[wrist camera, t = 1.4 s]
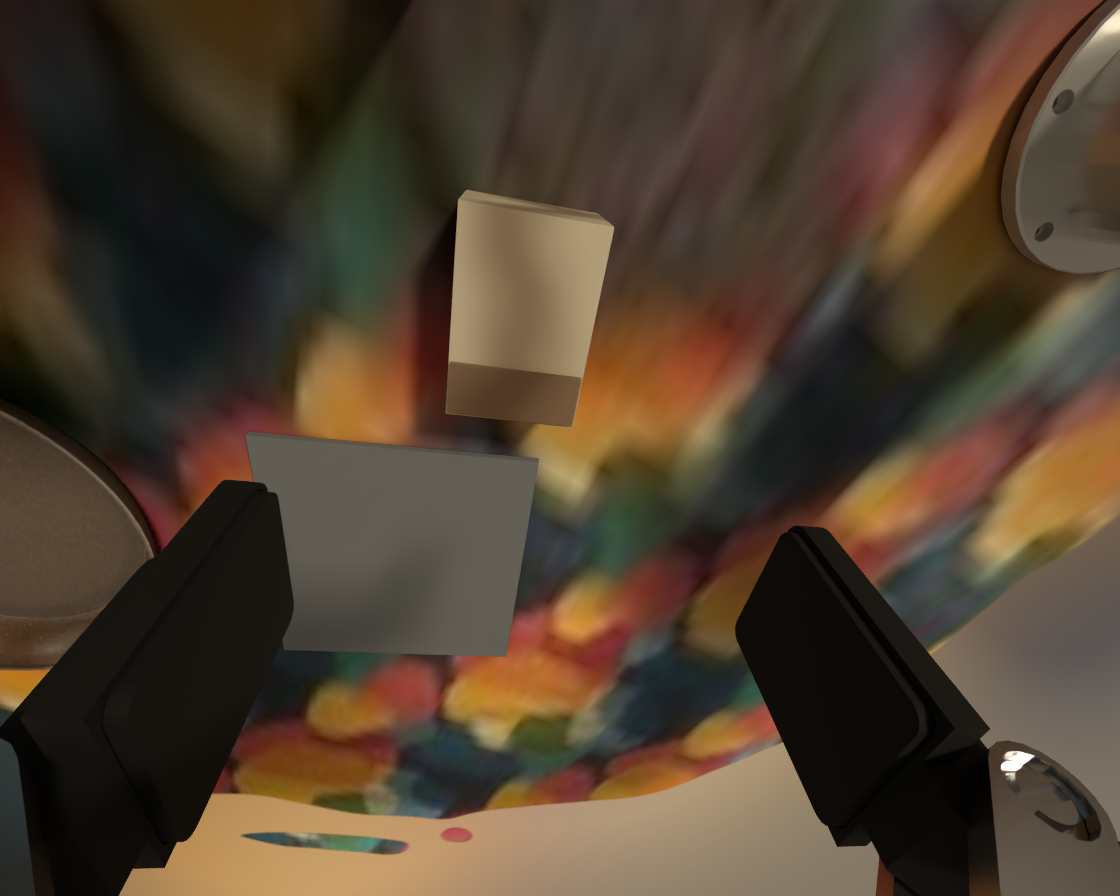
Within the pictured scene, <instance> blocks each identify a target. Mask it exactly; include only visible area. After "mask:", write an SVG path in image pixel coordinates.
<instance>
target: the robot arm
mask: <svg viewBox="0 0 1120 896" xmlns="http://www.w3.org/2000/svg"><path fill="white" fill-rule="evenodd" d="M1001 203H1002V213H1003V221H1004V223H1005V226H1006V229H1007V232H1008V234H1009V237H1010V239H1011V241H1012V242H1013V243H1014V245H1015V246H1016V247H1017V249H1018V250H1019V251H1020V253H1021V254H1023V255H1024V256H1025V257H1027V258H1028V259H1030V260H1031V261H1033V262H1034V263H1035V264H1038V265H1041V266H1044V267H1047V268H1051V269H1054V270H1059V271H1064V272H1070V273H1075V274H1088V273H1102V272H1106V271H1110V270H1114V269H1119V268H1120V0H1107V1H1106V2H1105V3H1104V4H1103V5H1102V6H1101V7H1100V8H1098V9H1097V10H1096V11H1095V12H1094V13H1093V14H1092V15H1091V16H1090V18H1089V19H1088V20H1087V21H1086V22H1085V23H1084V24H1083V25H1082V26H1081V27H1080V29H1079V30H1078V31H1077V32H1076V33H1075V34H1074V35H1073V36H1072V37H1071V38H1070V40H1069V41H1068V42H1067V43H1066V44H1065V46H1064V47H1063V49H1062V50H1061V51H1060V53H1059V54H1058V55H1057V57H1056V58H1055V60H1054V61H1053V62H1052V64H1051V65H1050V66H1049V68H1048V69H1047V71H1046V72H1045V73H1044V75H1043V76H1042V78H1041V80H1040V82H1039V84H1038V85H1037V87H1036V89H1035V91H1034V92H1033V94H1032V96H1031V98H1030V99H1029V101H1028V103H1027V105H1026V106H1025V108H1024V111H1023V113H1022V115H1021V118H1020V120H1019V123H1018V125H1017V127H1016V130H1015V132H1014V135H1013V137H1012V139H1011V143H1010V147H1009V150H1008V154H1007V158H1006V162H1005V166H1004V169H1003V179H1002V189H1001ZM293 610H294V599H293V592H292V585H291V579H290V572H289V565H288V559H287V552H286V545H285V538H284V532H283V525H282V518H281V512H280V505H279V499H278V495H277V494H276V493H275V492H268V489H267V487H266V485H265V484H264V483H261V482H248V481H236V480H224V481H222V482H221V483H220V484H219V485H218V486H217V487H216V488H215V489H214V491H213V492H212V493H211V494H210V495H209V496H208V498H207V499H206V500H205V501H204V502H203V503H202V505H201V506H200V507H199V508H198V509H197V511H196V512H195V513H194V514H193V515H192V516H191V518H190V519H189V520H188V521H187V522H186V523H185V525H184V526H183V527H182V528H181V529H180V531H179V532H178V533H177V534H176V535H175V536H174V538H173V539H172V540H171V541H170V542H169V543H168V545H167V546H166V547H165V548H164V549H163V550H162V552H161V553H160V554H159V555H158V556H157V557H154V558H152V559H150V560H147V561H146V562H145V563H144V564H143V565H142V566H141V567H140V568H139V569H138V570H137V571H136V572H135V573H134V574H133V576H132V577H131V578H130V579H129V580H128V581H127V582H126V584H125V585H124V586H123V587H122V588H121V589H120V591H119V592H118V593H117V594H116V595H115V596H114V597H113V599H112V600H111V601H110V602H109V603H108V604H107V605H106V607H105V608H104V609H103V610H102V611H101V612H100V613H99V615H98V616H97V617H96V618H95V619H94V620H93V622H92V623H91V624H90V625H89V626H88V627H87V628H86V630H85V631H84V632H83V633H82V634H81V635H80V636H79V638H78V639H77V640H76V641H75V642H74V643H73V644H72V646H71V647H70V648H69V649H68V650H67V651H66V653H65V654H64V655H63V656H62V657H61V658H60V659H59V661H58V662H57V663H56V664H55V665H54V666H53V667H52V669H51V670H50V671H49V672H48V673H47V674H46V675H45V677H44V678H43V679H42V680H41V681H40V682H39V684H38V685H37V686H36V687H35V688H34V689H33V690H32V692H31V693H30V694H29V695H28V696H27V697H26V698H25V700H24V701H23V702H22V703H21V704H20V705H19V706H18V708H17V709H16V710H15V711H14V712H13V713H12V715H11V716H10V717H9V718H8V719H7V720H6V721H5V723H4V724H3V725H2V726H1V727H0V896H119V894H120V892H121V890H122V888H123V886H124V884H125V882H126V880H127V879H128V877H129V875H130V873H131V871H132V869H137V868H138V869H140V868H165V866H166V864H167V862H168V859H169V857H170V855H171V853H172V851H173V849H174V847H175V845H176V843H177V842H184V841H186V840H187V839H189V837H190V836H191V835H192V834H193V832H194V831H195V829H196V827H197V825H198V823H199V821H200V819H201V816H202V814H203V812H204V810H205V807H206V805H207V803H208V801H209V799H210V797H211V794H212V792H213V790H214V788H215V786H216V784H217V781H218V779H219V777H220V775H221V773H222V770H223V768H224V766H225V764H226V762H227V760H228V757H229V755H230V753H231V751H232V749H233V746H234V744H235V742H236V740H237V738H238V736H239V733H240V731H241V729H242V727H243V725H244V722H245V720H246V718H247V716H248V714H249V711H250V709H251V707H252V705H253V703H254V701H255V698H256V696H257V694H258V692H259V690H260V687H261V685H262V683H263V681H264V679H265V677H266V674H267V672H268V670H269V668H270V666H271V663H272V661H273V659H274V657H275V655H276V653H277V650H278V648H279V646H280V644H281V642H282V639H283V637H284V635H285V633H286V631H287V629H288V626H289V624H290V622H291V619H292V615H293ZM735 634H736V639H737V642H738V644H739V646H740V648H741V650H742V653H743V655H744V657H745V659H746V661H747V664H748V666H749V668H750V670H751V672H752V675H753V677H754V679H755V681H756V683H757V686H758V688H759V690H760V692H761V694H762V697H763V699H764V701H765V703H766V705H767V708H768V710H769V712H770V714H771V717H772V719H773V721H774V723H775V725H776V728H777V730H778V732H779V734H780V736H781V739H782V741H783V743H784V745H785V747H786V749H787V752H788V754H789V756H790V758H791V760H792V763H793V765H794V767H795V769H796V772H797V774H798V776H799V778H800V780H801V783H802V785H803V787H804V789H805V791H806V793H807V796H808V798H809V800H810V802H811V804H812V807H813V809H814V811H815V813H816V815H817V816H818V818H819V819H820V821H821V822H822V823H823V824H825V825H826V826H828V828H829V830H830V832H831V834H832V836H833V839H834V840H835V843H836V845H837V847H843V846H867V845H868V844H869V843H870V842H871V841H872V843H873V845H874V847H875V848H876V850H877V852H878V854H879V867H878V878H877V887H876V896H1120V842H1119V841H1118V839H1117V836H1116V832H1115V830H1114V828H1113V825H1112V823H1111V821H1110V819H1109V817H1108V815H1107V813H1106V812H1105V810H1104V809H1103V807H1102V806H1101V805H1100V803H1099V802H1098V801H1097V799H1096V798H1095V796H1094V795H1093V794H1092V793H1091V792H1090V791H1089V790H1088V789H1087V788H1086V787H1085V786H1084V785H1083V784H1082V783H1081V782H1080V781H1079V780H1078V779H1077V778H1076V777H1075V776H1074V775H1072V774H1071V773H1070V772H1069V771H1067V770H1066V769H1065V768H1064V767H1063V766H1061V765H1060V764H1059V763H1057V762H1056V761H1054V760H1052V759H1051V758H1049V757H1048V756H1046V755H1044V754H1043V753H1042V752H1040V751H1037V750H1035V749H1033V748H1031V747H1028V746H1027V745H1024V744H1021V743H1017V742H1012V741H999V742H996V743H995V744H994V745H992V746H991V747H990V748H989V749H987V748H986V747H985V745H984V744H983V743H982V741H981V740H980V738H981V737H982V736H983V735H984V734H985V733H986V732H987V731H988V730H990V728H989V727H988V726H987V724H986V723H985V722H984V721H983V719H982V718H981V717H980V716H979V714H978V713H977V712H976V711H975V710H974V708H973V707H972V706H971V705H970V704H969V702H968V701H967V700H966V699H965V697H964V696H963V695H962V694H961V692H960V691H959V690H958V689H957V688H956V686H955V685H954V684H953V683H952V681H951V680H950V679H949V678H948V677H947V675H946V674H945V673H944V672H943V670H942V669H941V668H940V667H939V665H937V663H936V662H935V661H934V659H933V658H932V657H931V656H930V654H929V653H928V652H927V651H926V650H925V648H924V647H923V646H922V645H921V643H920V642H919V641H918V640H917V639H916V637H915V636H914V635H913V634H912V632H911V631H910V630H909V629H908V628H907V626H906V625H905V624H904V623H903V621H902V620H901V619H900V618H899V617H898V615H897V614H896V613H895V612H894V610H893V609H892V608H891V607H890V606H889V604H888V603H887V602H886V601H885V599H884V598H883V597H882V596H881V595H880V593H879V592H878V591H877V590H876V588H875V587H874V586H873V585H872V583H871V582H870V581H869V580H868V579H867V577H866V576H865V575H864V574H863V572H862V571H861V570H860V569H859V568H858V566H857V565H856V564H855V563H854V561H853V560H852V559H851V558H850V557H849V555H848V554H847V553H846V552H845V550H844V549H843V548H842V547H841V546H840V544H839V543H838V542H837V541H836V539H835V538H834V537H833V536H832V535H831V533H830V532H829V531H827V530H826V529H824V528H819V527H807V526H793V527H792V528H790V529H789V530H788V532H786V533H783V534H782V535H781V536H780V538H779V540H778V542H777V544H776V546H775V548H774V550H773V551H772V553H771V555H770V557H769V559H768V561H767V563H766V565H765V567H764V569H763V571H762V573H761V575H760V577H759V579H758V581H757V583H756V585H755V587H754V589H753V591H752V593H751V595H750V597H749V599H748V600H747V602H746V604H745V606H744V608H743V610H742V612H741V614H740V616H739V618H738V620H737V623H736V627H735Z"/></svg>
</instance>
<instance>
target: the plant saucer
mask: <svg viewBox="0 0 1120 896" xmlns="http://www.w3.org/2000/svg"><path fill="white" fill-rule="evenodd" d="M154 557H157V553H156V549H155V544H154V541H153V538H152V535H151V532H150V530H149V528H148V525H147V523H146V521H145V519H144V517H143V515H142V513H141V511H140V510H139V508H138V506H137V505H136V503H135V502H134V500H133V499H132V497H131V496H130V494H129V493H128V491H127V490H126V489H125V488H124V486H123V485H122V484H121V483H120V481H119V480H118V479H117V478H116V477H115V476H114V475H113V473H112V472H111V471H110V470H109V469H108V468H107V467H106V466H105V465H103V464H102V463H101V462H100V461H99V460H98V459H97V458H96V457H95V456H93V455H92V454H91V453H90V452H89V451H87V450H86V449H85V448H84V447H82V446H81V445H80V444H79V443H77V442H76V441H75V440H73V439H72V438H70V437H69V436H67V435H66V434H64V433H63V432H61V431H60V430H58V429H57V428H55V427H53V426H52V425H50V424H48V423H47V422H45V421H43V420H42V419H40V418H38V417H36V416H34V415H32V414H31V413H29V412H27V411H25V410H23V409H21V408H19V407H17V406H15V405H13V404H11V403H9V402H6V401H4V400H2V399H0V670H45V669H52V667H53V666H54V665H55V664H56V663H57V662H58V661H59V659H60V658H61V657H62V656H63V655H64V654H65V653H66V651H67V650H68V649H69V648H70V647H71V646H72V644H73V643H74V642H75V641H76V640H77V639H78V638H79V636H80V635H81V634H82V633H83V632H84V631H85V630H86V628H87V627H88V626H89V625H90V624H91V623H92V622H93V620H94V619H95V618H96V617H97V616H98V615H99V613H100V612H101V611H102V610H103V609H104V608H105V607H106V605H107V604H108V603H109V602H110V601H111V600H112V599H113V597H114V596H115V595H116V594H117V593H118V592H119V591H120V589H121V588H122V587H123V586H124V585H125V584H126V582H127V581H128V580H129V579H130V578H131V577H132V576H133V574H134V573H135V572H136V571H137V570H138V569H139V568H140V567H141V566H142V565H143V564H144V563H145V562H146V561H147V560H150V559H152V558H154Z"/></svg>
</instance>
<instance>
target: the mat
mask: <svg viewBox="0 0 1120 896" xmlns="http://www.w3.org/2000/svg"><path fill="white" fill-rule="evenodd" d="M245 436H246V441H247V447H248V452H249V458H250V464H251V469H252V475H253V480H254V482H261V483H264V484H265V485H266V487H267V489H268V492H275V493H276V494H277V495H278V499H279V505H280V512H281V518H282V525H283V532H284V538H285V545H286V552H287V559H288V565H289V572H290V579H291V585H292V592H293V599H294V610H293V615H292V619H291V622H290V624H289V626H288V629H287V631H286V633H285V635H284V637H283V639H282V640H283V646H284V650H300V651H333V652H366V653H399V654H432V655H465V656H498V657H506V653H507V648H508V642H509V636H510V630H511V624H512V618H513V612H514V606H515V600H516V594H517V588H518V582H519V576H520V570H521V564H522V558H523V552H524V546H525V540H526V534H527V529H528V523H529V517H530V511H531V505H532V499H533V493H534V487H535V481H536V475H537V469H538V463H539V461H538V459H537V458H527V457H516V456H505V455H494V454H484V453H473V452H462V451H451V450H440V449H430V448H419V447H408V446H397V445H387V444H376V443H365V442H354V441H343V440H333V439H322V438H311V437H300V436H290V435H279V434H268V433H257V432H248V433H247V434H246V435H245Z"/></svg>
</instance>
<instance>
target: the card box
mask: <svg viewBox="0 0 1120 896" xmlns="http://www.w3.org/2000/svg"><path fill="white" fill-rule="evenodd" d="M613 231H614V227H613V226H612V225H611V224H610V223H609V222H607V221H606V220H605V219H604V218H603V217H601V216H600V215H599V214H597V213H592V212H586V211H581V210H575V209H570V208H564V207H559V206H553V205H548V204H542V203H537V202H531V201H526V200H520V199H515V198H509V197H503V196H498V195H492V194H487V193H481V192H476V191H470V190H466V191H465V192H464V194H463V195H462V196H461V197H460V198H459V199H458V212H457V228H456V245H455V261H454V278H453V295H452V311H451V328H450V344H449V361H448V378H447V394H446V411H445V414H454V415H463V416H472V417H481V418H490V419H499V420H508V421H518V422H527V423H536V424H545V425H554V426H563V427H573V423H574V418H575V413H576V408H577V403H578V399H579V394H580V389H581V384H582V379H583V375H584V370H585V365H586V360H587V356H588V351H589V346H590V341H591V336H592V332H593V327H594V322H595V317H596V313H597V308H598V303H599V298H600V293H601V289H602V284H603V279H604V274H605V270H606V265H607V260H608V255H609V250H610V246H611V241H612V236H613Z"/></svg>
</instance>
